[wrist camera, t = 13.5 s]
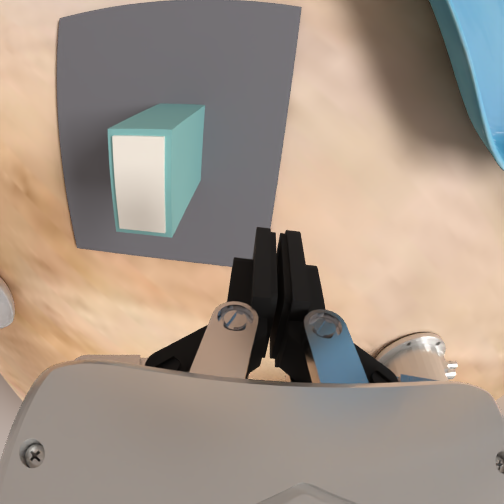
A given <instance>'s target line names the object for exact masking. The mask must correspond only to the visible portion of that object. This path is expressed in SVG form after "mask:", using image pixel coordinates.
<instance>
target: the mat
mask: <svg viewBox="0 0 504 504" xmlns="http://www.w3.org/2000/svg"><path fill="white" fill-rule="evenodd" d="M300 15H301V7H297V6H291V5H283V4H275V3H266V2H255V1H241V0H171V1H157V2H147V3H138V4H130V5H122V6H116V7H110V8H104V9H99V10H94V11H89V12H84V13H80V14H75V15H71V16H67V17H63V18H60V20H59V32H58V50H57V104H58V123H59V136H60V147H61V157H62V165H63V173H64V180H65V187H66V193H67V199H68V205H69V211H70V216H71V221H72V226H73V231H74V236H75V240H76V245H77V248H81V249H89V250H97V251H104V252H112V253H120V254H128V255H136V256H144V257H152V258H161V259H169V260H177V261H186V262H194V263H203V264H212V265H220V266H229V267H232V266H233V259H234V257H237V258H246V259H253V251H254V243H255V235H256V228H257V227H263V228H270V227H271V221H272V214H273V208H274V201H275V194H276V188H277V181H278V174H279V168H280V161H281V154H282V147H283V140H284V133H285V126H286V119H287V112H288V105H289V98H290V91H291V83H292V76H293V69H294V61H295V54H296V46H297V39H298V31H299V23H300ZM160 103H162V104H195V105H205V114H204V129H203V145H202V164H201V181H200V183H199V184H198V186H197V188H196V190H195V192H194V194H193V196H192V198H191V200H190V202H189V204H188V206H187V208H186V210H185V212H184V214H183V216H182V218H181V220H180V222H179V224H178V227H177V229H176V231H175V233H174V235H173V237H172V238H170V237H161V236H152V235H143V234H134V233H125V232H116V226H115V218H114V210H113V200H112V190H111V179H110V166H109V150H108V128H110V127H112V126H114V125H116V124H118V123H120V122H122V121H124V120H126V119H128V118H130V117H132V116H134V115H136V114H138V113H140V112H142V111H144V110H147V109H149V108H151V107H153V106H155V105H158V104H160Z"/></svg>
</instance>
